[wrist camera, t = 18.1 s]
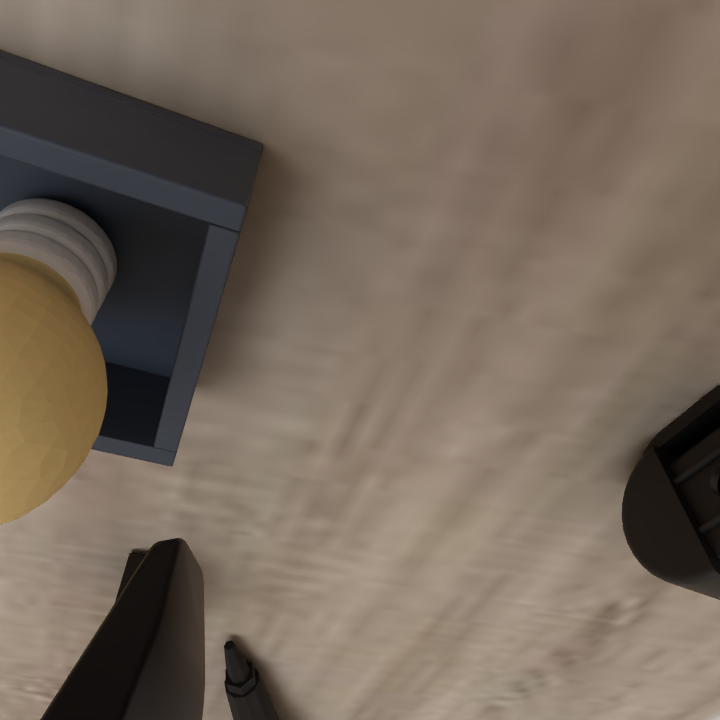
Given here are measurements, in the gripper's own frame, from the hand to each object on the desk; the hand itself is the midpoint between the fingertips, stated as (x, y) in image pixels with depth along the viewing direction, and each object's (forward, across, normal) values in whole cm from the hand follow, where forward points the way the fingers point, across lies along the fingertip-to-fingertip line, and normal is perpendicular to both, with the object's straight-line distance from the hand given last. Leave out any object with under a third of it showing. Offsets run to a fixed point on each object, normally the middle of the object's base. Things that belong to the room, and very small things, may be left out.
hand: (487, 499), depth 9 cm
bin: (+14, +10, +1) cm, 17 cm away
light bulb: (+13, +10, +1) cm, 17 cm away
